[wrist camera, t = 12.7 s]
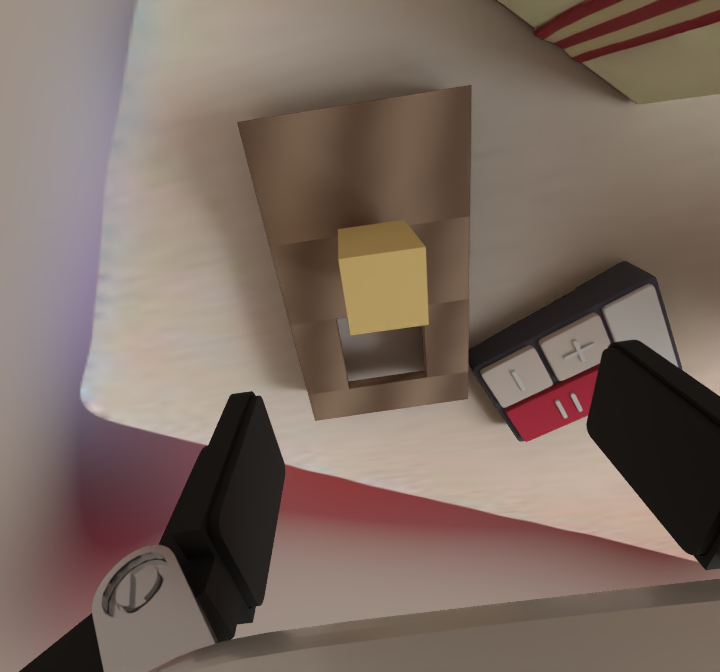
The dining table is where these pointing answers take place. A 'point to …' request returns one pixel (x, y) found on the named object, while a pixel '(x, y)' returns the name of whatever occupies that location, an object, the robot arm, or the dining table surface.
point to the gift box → (635, 42)
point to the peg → (383, 277)
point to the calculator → (569, 349)
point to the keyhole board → (365, 207)
